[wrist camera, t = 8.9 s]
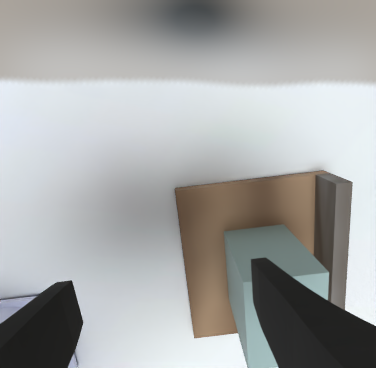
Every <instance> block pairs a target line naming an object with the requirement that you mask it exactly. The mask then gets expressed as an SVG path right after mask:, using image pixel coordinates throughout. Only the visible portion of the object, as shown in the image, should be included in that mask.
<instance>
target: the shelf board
mask: <svg viewBox="0 0 376 368" xmlns="http://www.w3.org/2000/svg"><path fill="white" fill-rule="evenodd" d="M175 195H176V202H177V210H178V218H179V225H180V233H181V240H182V248H183V256H184V263H185V271H186V279H187V286H188V294H189V301H190V309H191V317H192V324H193V332H194V338H201V337H209V336H218V335H226V334H234V333H238V331H237V327H236V323H235V320H234V316H233V312H232V309H231V305H230V301H229V294H228V281H227V268H226V255H225V242H224V231H231V230H239V229H248V228H257V227H265V226H274V225H282V224H284V225H285V226H286V227H287V228H288V229H289V230H290V231H291V233H292V234H293V235H294V236H295V237H296V238H297V239H298V240H299V241H300V242H301V243H302V244H303V245H304V246H305V247H306V248H307V249H308V251H309V252H310V253H311V254H312V255H313V256H314V257H315V258H316V259H317V260H318V261H319V262H320V263H321V264H322V265H323V266H324V267H325V269H326V270H327V271H328V272H329V286H328V301H329V302H331V303H333V304H335V305H336V306H338V307H340V308H342V309H343V310H345V296H346V279H347V263H348V247H349V231H350V215H351V199H352V182H351V181H348V180H346V179H343V178H341V177H338V176H336V175H333V174H331V173H328V172H326V171H316V172H307V173H299V174H290V175H282V176H273V177H265V178H256V179H248V180H239V181H231V182H222V183H214V184H205V185H197V186H188V187H180V188H175Z"/></svg>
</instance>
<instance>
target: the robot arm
mask: <svg viewBox="0 0 376 368" xmlns="http://www.w3.org/2000/svg"><path fill="white" fill-rule="evenodd" d="M251 274H252V293H253V304H254V307H255V310H256V314H257V317H258V320H259V323H260V326H261V329H262V331H263V333H264V336H265V338H266V340H267V342H268V345H269V347H270V349H271V351H272V354H273V356H274V358H275V360H276V363H277V365H278V367H279V368H376V326H374V325H372V324H370V323H368V322H366V321H364V320H362V319H360V318H358V317H357V316H355V315H353V314H351V313H349V312H347V311H345V310H343V309H342V308H340V307H338V306H336V305H335V304H333V303H331V302H329V301H328V300H326V299H325V298H323V297H321V296H320V295H318V294H317V293H315V292H313V291H312V290H310V289H309V288H307V287H306V286H304V285H303V284H302V283H300V282H299V281H297V280H296V279H294V278H293V277H292V276H290V275H289V274H288V273H286V272H285V271H284V270H282V269H281V268H280V267H278V266H277V265H276V264H274V263H273V262H272V261H270V260H269V259H268V258H266V257H264V258H256V259H251ZM82 325H83V320H82V316H81V312H80V308H79V305H78V301H77V297H76V294H75V290H74V286H73V282H72V281H64V282H57V283H55V284H53V285H52V286H50V287H49V288H48V289H46V290H45V291H43V292H42V293H41V294H39V295H38V296H32V297H24V298H16V299H7V300H0V368H78V366H77V362H76V359H75V355H74V352H75V349H76V346H77V343H78V339H79V336H80V332H81V329H82Z"/></svg>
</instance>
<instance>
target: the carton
mask: <svg viewBox="0 0 376 368" xmlns="http://www.w3.org/2000/svg"><path fill="white" fill-rule="evenodd" d="M224 242H225V255H226V268H227V281H228V294H229V301H230V305H231V309H232V312H233V316H234V320H235V323H236V327H237V331H238V334H239V338H240V342H241V345H242V349H243V353H244V356H245V360H246V363H247V367H248V368H276V367H278V365H277V363H276V360H275V358H274V356H273V354H272V351H271V349H270V347H269V345H268V342H267V340H266V338H265V336H264V333H263V331H262V329H261V326H260V323H259V320H258V317H257V314H256V310H255V307H254V304H253V293H252V274H251V259H256V258H264V257H266V258H268V259H269V260H270V261H272V262H273V263H274V264H276V265H277V266H278V267H280V268H281V269H282V270H284V271H285V272H286V273H288V274H289V275H290V276H292V277H293V278H294V279H296V280H297V281H299V282H300V283H302V284H303V285H304V286H306V287H307V288H309V289H310V290H312V291H313V292H315V293H317V294H318V295H320V296H321V297H323V298H325V299H326V300H328V286H329V272H328V271H327V270H326V269H325V267H324V266H323V265H322V264H321V263H320V262H319V261H318V260H317V259H316V258H315V257H314V256H313V255H312V254H311V253H310V252H309V251H308V249H307V248H306V247H305V246H304V245H303V244H302V243H301V242H300V241H299V240H298V239H297V238H296V237H295V236H294V235H293V234H292V233H291V231H290V230H289V229H288V228H287V227H286V226H285V225H284V224H282V225H274V226H265V227H257V228H248V229H239V230H231V231H224Z"/></svg>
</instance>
